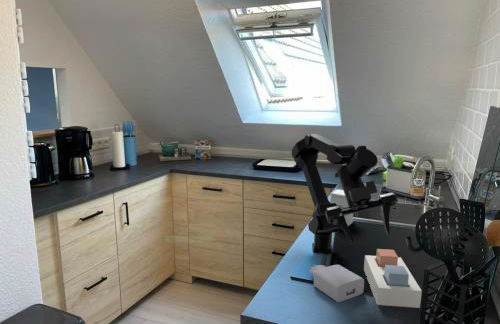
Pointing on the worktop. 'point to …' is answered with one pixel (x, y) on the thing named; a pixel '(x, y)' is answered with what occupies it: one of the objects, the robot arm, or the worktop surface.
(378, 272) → the key console
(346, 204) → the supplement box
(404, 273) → the slate key
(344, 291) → the charger
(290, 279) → the worktop surface
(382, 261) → the brick key
